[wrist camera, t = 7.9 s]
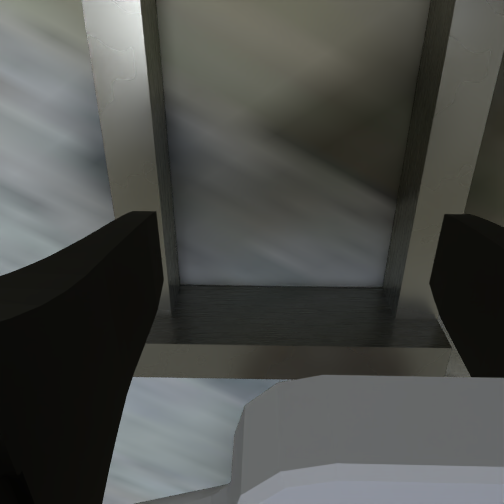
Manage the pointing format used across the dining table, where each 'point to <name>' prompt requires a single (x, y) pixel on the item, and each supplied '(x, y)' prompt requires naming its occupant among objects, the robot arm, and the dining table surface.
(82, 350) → the robot arm
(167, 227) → the socket
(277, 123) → the dining table surface
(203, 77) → the dining table surface
